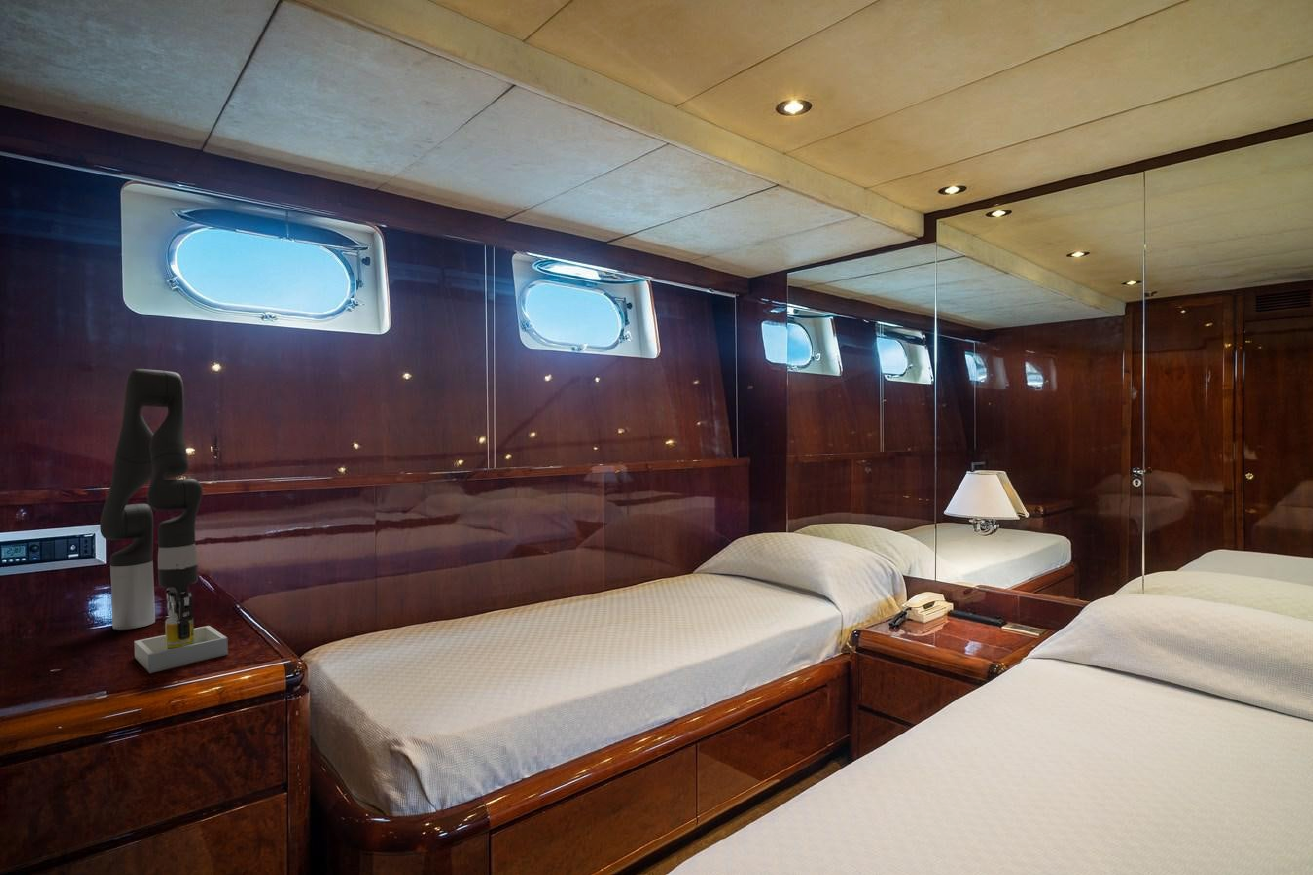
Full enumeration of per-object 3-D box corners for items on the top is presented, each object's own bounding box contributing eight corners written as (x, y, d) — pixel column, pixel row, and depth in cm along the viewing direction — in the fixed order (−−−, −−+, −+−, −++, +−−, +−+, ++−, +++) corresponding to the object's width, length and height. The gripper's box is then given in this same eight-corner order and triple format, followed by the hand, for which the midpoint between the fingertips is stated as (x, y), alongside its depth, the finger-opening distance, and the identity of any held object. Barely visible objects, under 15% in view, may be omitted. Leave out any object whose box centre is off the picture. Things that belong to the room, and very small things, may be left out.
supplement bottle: (163, 649, 157) (162, 608, 157) (191, 643, 161) (189, 603, 161) (169, 654, 153) (167, 612, 153) (196, 647, 157) (195, 607, 157)
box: (135, 657, 157) (134, 641, 157) (209, 641, 168) (209, 625, 168) (149, 673, 147) (148, 654, 146) (228, 654, 158) (227, 637, 158)
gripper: (151, 563, 159) (154, 633, 159) (165, 571, 149) (168, 646, 149) (188, 557, 164) (191, 626, 165) (205, 565, 155) (208, 638, 155)
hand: (180, 635), depth 157 cm, fingers closed on supplement bottle, 5 cm apart
